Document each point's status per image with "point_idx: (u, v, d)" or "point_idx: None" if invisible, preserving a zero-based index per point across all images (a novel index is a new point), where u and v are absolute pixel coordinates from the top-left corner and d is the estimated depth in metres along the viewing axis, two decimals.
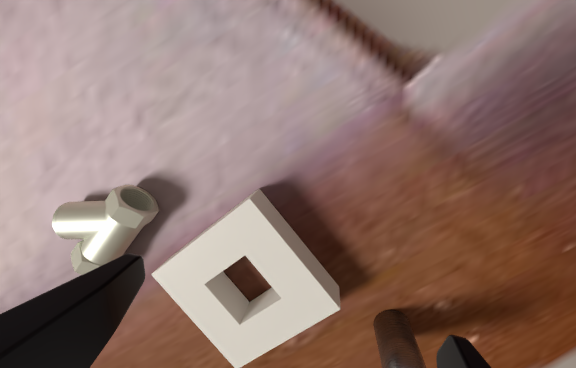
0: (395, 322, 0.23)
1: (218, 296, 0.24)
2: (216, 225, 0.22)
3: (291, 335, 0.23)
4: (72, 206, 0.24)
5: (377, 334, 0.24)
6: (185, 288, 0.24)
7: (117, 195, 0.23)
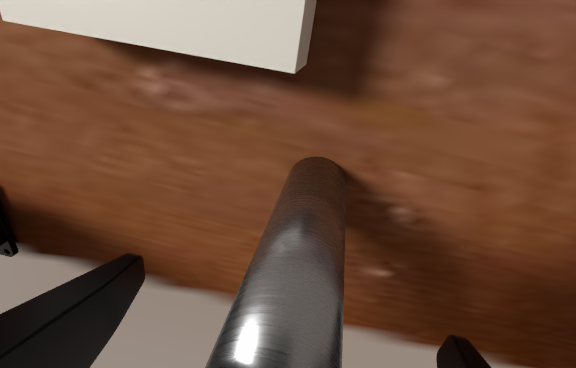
0: (337, 180, 0.13)
1: None
2: None
3: (161, 44, 0.10)
4: None
5: (296, 174, 0.13)
6: None
7: None
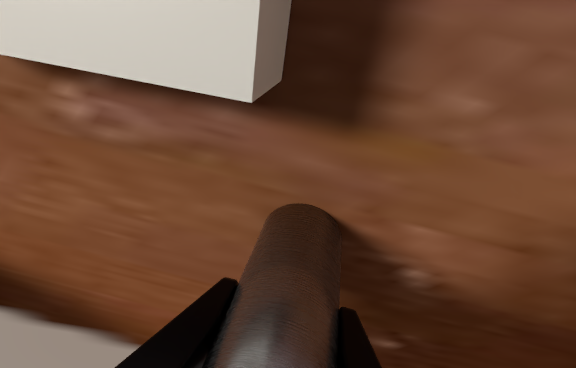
0: (328, 244, 0.09)
1: None
2: None
3: (40, 54, 0.06)
4: None
5: (270, 236, 0.09)
6: None
7: None
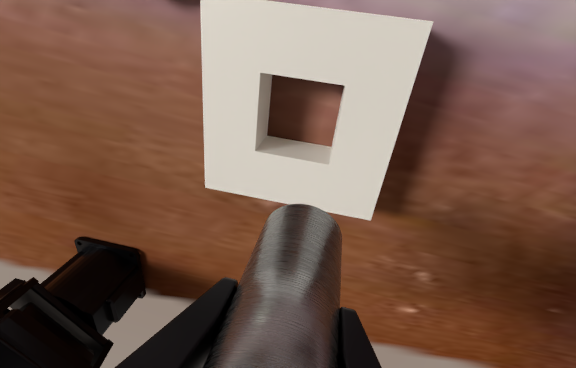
0: (328, 244, 0.09)
1: (259, 101, 0.16)
2: (354, 14, 0.13)
3: (297, 203, 0.19)
4: None
5: (271, 236, 0.09)
6: (231, 54, 0.15)
7: None
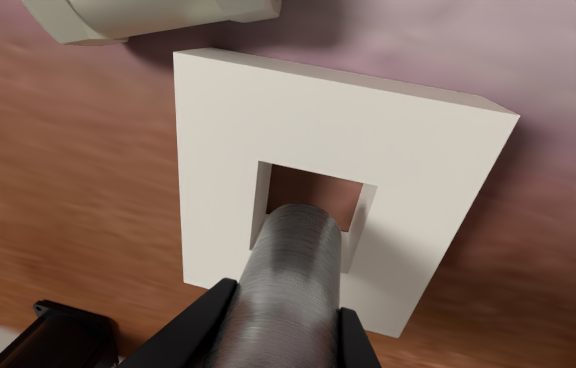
0: (328, 244, 0.09)
1: (256, 192, 0.12)
2: (400, 97, 0.09)
3: None
4: None
5: (270, 235, 0.09)
6: (217, 135, 0.11)
7: None
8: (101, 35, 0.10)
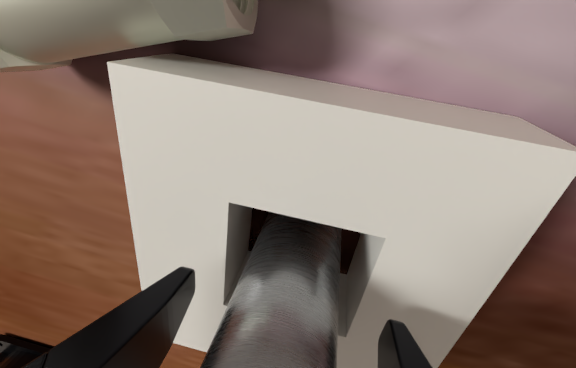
0: (329, 225, 0.10)
1: (230, 238, 0.09)
2: (419, 125, 0.06)
3: None
4: None
5: (277, 217, 0.10)
6: (174, 169, 0.08)
7: None
8: (27, 61, 0.08)
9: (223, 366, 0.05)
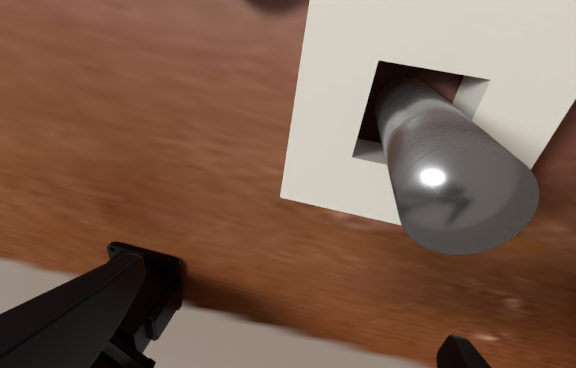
0: None
1: (367, 97, 0.13)
2: None
3: (393, 221, 0.16)
4: None
5: (397, 86, 0.14)
6: (343, 36, 0.12)
7: None
8: None
9: (420, 114, 0.09)
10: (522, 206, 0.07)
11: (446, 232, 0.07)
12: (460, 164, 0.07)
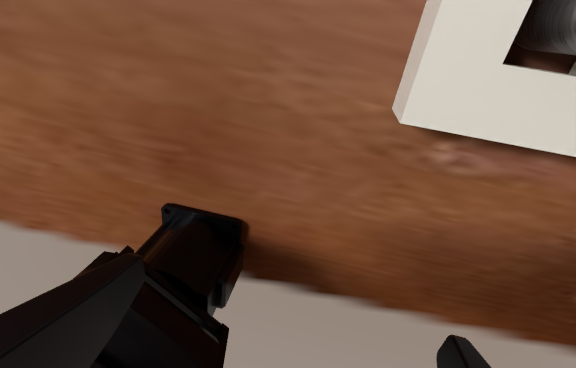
0: None
1: None
2: None
3: (536, 145, 0.14)
4: None
5: None
6: None
7: None
8: None
9: None
10: None
11: None
12: None
